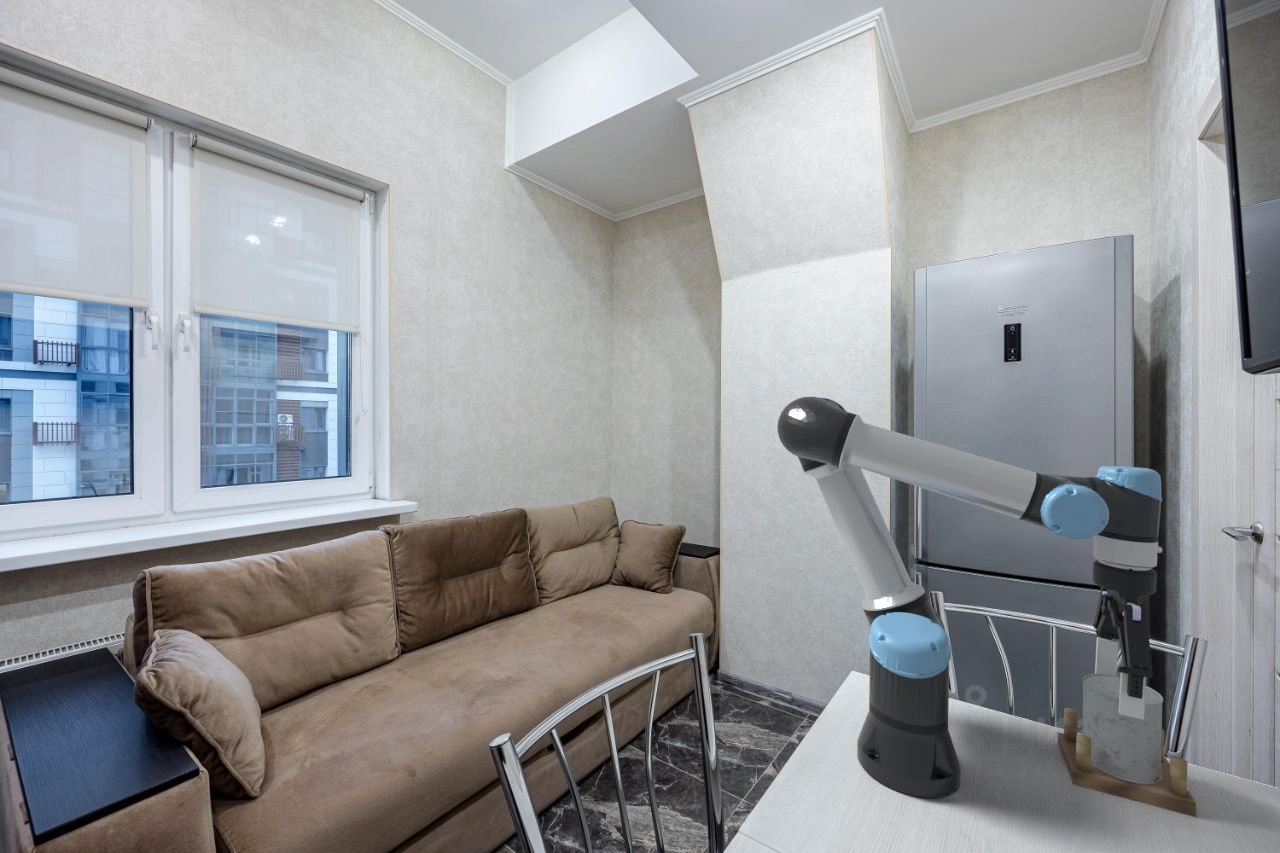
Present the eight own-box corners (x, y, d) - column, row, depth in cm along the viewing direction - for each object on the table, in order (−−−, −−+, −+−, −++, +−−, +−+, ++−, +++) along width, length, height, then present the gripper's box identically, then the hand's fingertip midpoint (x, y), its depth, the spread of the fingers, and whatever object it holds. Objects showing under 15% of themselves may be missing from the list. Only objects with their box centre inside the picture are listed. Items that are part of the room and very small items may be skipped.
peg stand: (1073, 784, 84) (1073, 740, 84) (1057, 743, 94) (1058, 704, 94) (1196, 816, 77) (1197, 768, 77) (1164, 769, 87) (1165, 726, 87)
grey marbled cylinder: (1178, 788, 80) (1180, 707, 80) (1105, 779, 82) (1106, 700, 82) (1133, 749, 89) (1135, 676, 89) (1068, 742, 91) (1069, 671, 91)
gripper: (1189, 590, 72) (1180, 744, 73) (1130, 550, 94) (1124, 669, 95) (1117, 580, 76) (1109, 727, 76) (1076, 544, 98) (1070, 658, 98)
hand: (1117, 695), depth 86 cm, fingers open, 13 cm apart
